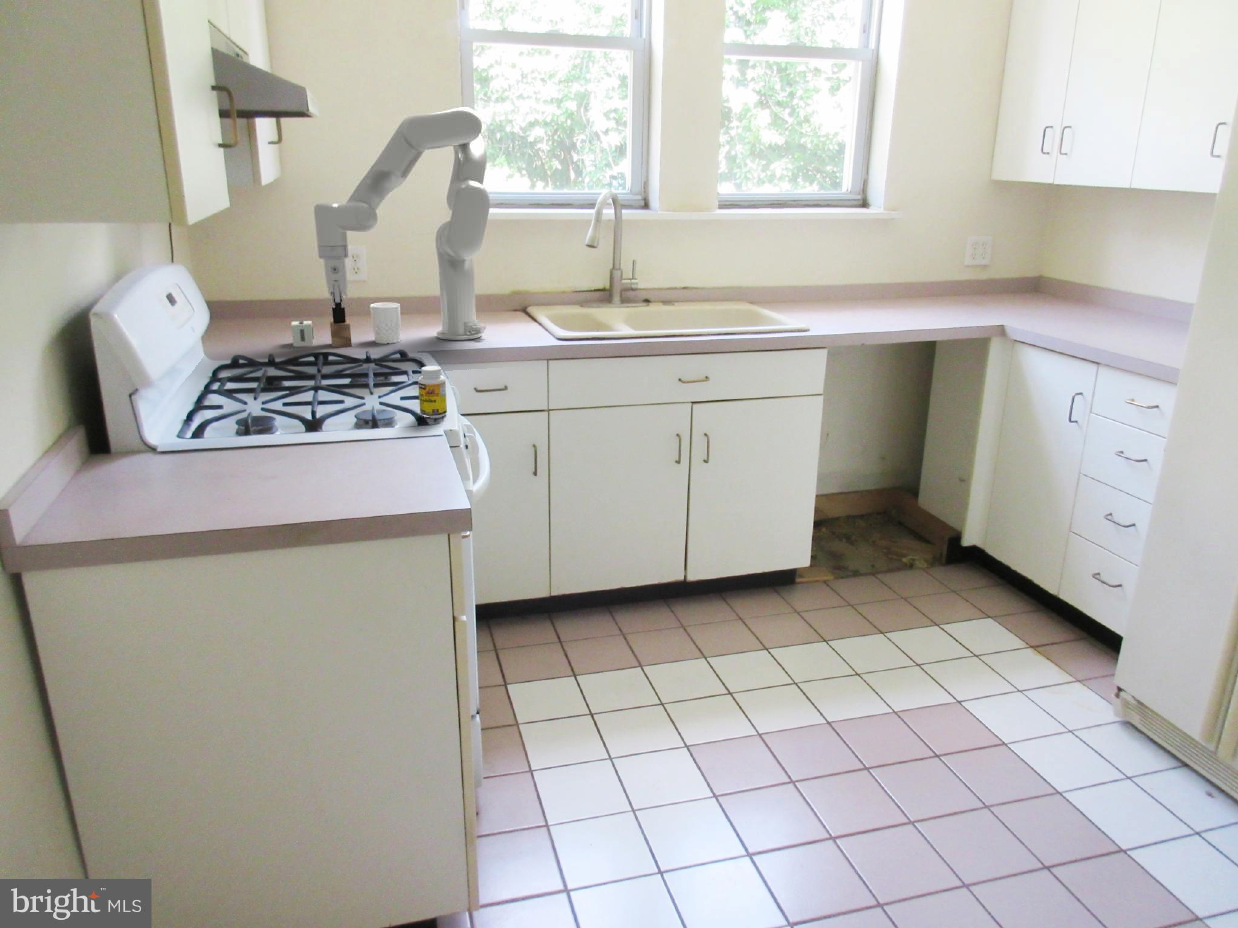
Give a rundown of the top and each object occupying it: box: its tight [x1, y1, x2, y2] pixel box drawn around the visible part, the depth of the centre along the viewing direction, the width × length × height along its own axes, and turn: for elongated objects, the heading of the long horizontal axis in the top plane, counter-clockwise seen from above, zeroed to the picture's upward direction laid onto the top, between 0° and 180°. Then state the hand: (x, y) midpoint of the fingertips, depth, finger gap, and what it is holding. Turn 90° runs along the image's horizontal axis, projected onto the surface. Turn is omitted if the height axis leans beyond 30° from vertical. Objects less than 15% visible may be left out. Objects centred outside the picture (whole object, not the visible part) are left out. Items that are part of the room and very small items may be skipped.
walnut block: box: [329, 320, 353, 348], centre depth 241 cm, size 5×5×6 cm
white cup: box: [369, 301, 401, 345], centre depth 245 cm, size 8×8×10 cm
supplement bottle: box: [417, 365, 448, 419], centre depth 179 cm, size 5×5×10 cm
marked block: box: [290, 320, 314, 348], centre depth 241 cm, size 5×5×6 cm
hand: (339, 322), depth 240 cm, fingers closed
